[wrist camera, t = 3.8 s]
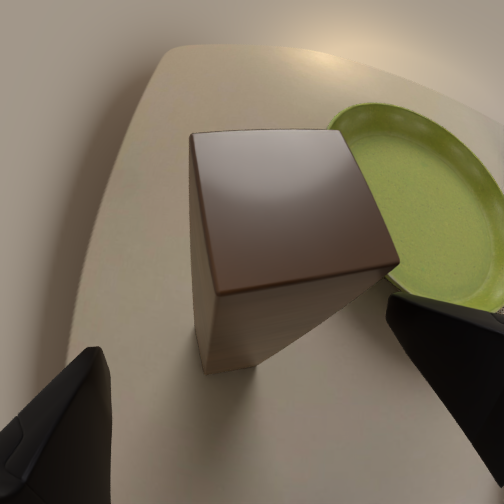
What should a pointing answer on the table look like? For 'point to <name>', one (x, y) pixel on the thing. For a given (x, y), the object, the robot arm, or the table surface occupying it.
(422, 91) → the table surface
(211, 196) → the block
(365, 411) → the table surface
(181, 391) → the table surface
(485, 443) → the robot arm
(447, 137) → the saucer
